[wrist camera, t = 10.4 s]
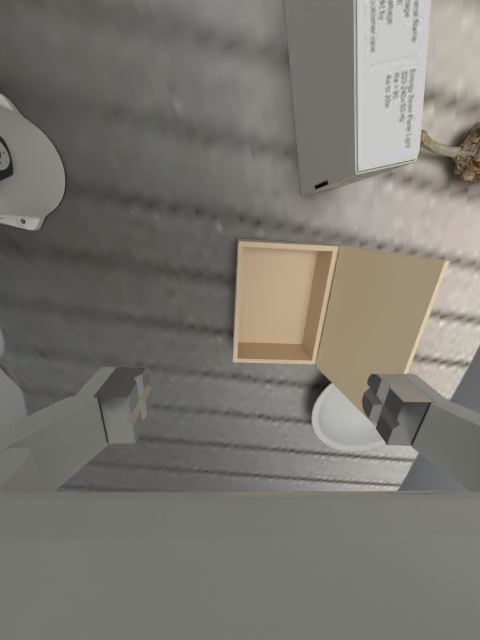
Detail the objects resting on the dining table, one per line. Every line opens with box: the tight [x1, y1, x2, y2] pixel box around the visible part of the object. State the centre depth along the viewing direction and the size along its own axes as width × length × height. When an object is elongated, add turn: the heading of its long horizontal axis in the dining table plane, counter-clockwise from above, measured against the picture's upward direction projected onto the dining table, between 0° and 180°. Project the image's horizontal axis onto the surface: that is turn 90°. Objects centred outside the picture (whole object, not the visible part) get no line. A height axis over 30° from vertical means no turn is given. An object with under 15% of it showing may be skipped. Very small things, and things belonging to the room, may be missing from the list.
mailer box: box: [233, 238, 339, 364], centre depth 45 cm, size 16×22×8 cm
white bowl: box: [311, 383, 386, 452], centre depth 56 cm, size 24×24×7 cm
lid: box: [316, 245, 450, 427], centre depth 34 cm, size 16×22×1 cm
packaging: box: [284, 0, 431, 196], centre depth 27 cm, size 30×6×20 cm, turn 11°
